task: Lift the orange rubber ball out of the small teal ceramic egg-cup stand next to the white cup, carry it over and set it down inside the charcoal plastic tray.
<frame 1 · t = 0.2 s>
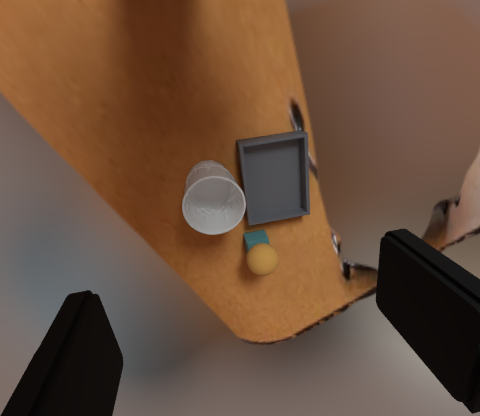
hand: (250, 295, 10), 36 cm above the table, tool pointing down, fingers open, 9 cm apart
ball: (262, 259, 47), point 6 cm above the table, touching stand
stand: (254, 240, 52), on the table
tray: (272, 176, 48), on the table
white cup: (208, 180, 46), on the table
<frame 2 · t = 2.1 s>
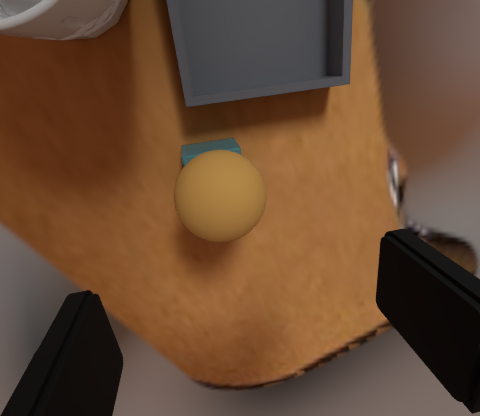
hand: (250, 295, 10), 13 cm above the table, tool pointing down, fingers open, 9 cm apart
ball: (220, 196, 17), point 6 cm above the table, touching stand
stand: (211, 166, 22), on the table
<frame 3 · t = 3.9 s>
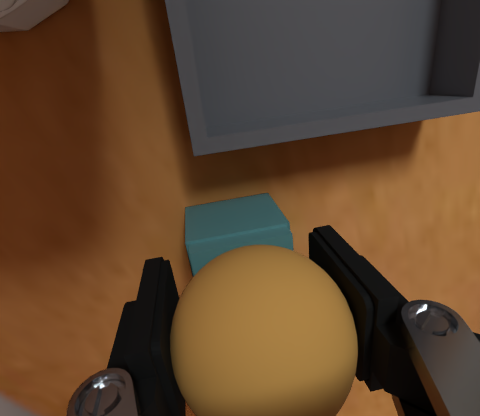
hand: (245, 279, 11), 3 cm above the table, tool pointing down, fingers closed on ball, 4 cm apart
ball: (261, 334, 8), point 6 cm above the table, touching gripper, stand
stand: (232, 236, 14), on the table
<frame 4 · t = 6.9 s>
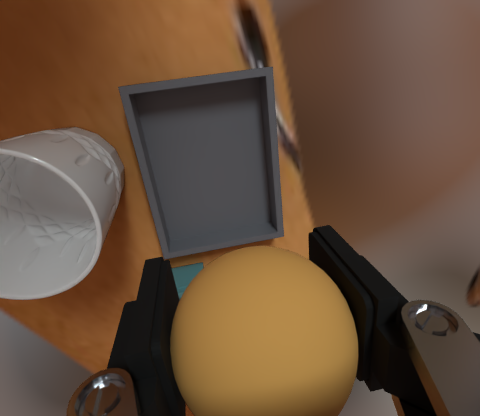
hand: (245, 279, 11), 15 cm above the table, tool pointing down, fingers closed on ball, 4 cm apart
ball: (262, 336, 8), point 18 cm above the table, touching gripper
stand: (187, 281, 29), on the table
tray: (210, 163, 24), on the table
white cup: (79, 170, 23), on the table
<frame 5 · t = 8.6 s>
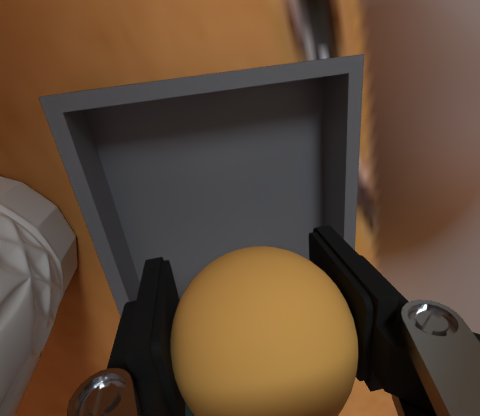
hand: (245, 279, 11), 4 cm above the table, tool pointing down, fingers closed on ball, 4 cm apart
ball: (262, 336, 8), point 7 cm above the table, touching gripper
tray: (227, 224, 14), on the table
when the fingers open (2 cm above the table, at t = 9.9 s): ball drops 2 cm, resting on tray.
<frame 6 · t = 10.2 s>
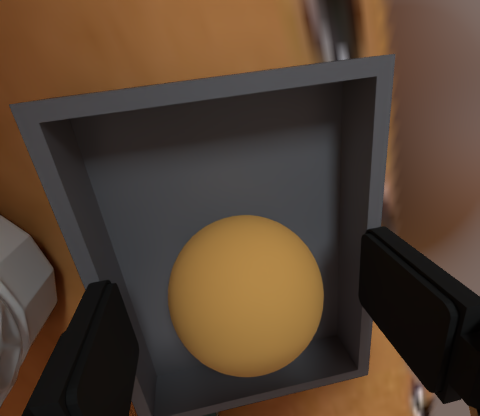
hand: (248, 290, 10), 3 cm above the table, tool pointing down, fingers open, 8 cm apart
ball: (245, 290, 10), point 3 cm above the table, touching tray
tray: (232, 243, 13), on the table
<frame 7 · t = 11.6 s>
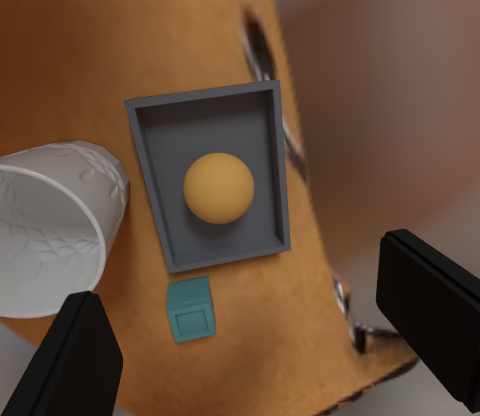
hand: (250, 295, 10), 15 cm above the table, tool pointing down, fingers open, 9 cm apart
ball: (219, 188, 21), point 3 cm above the table, touching tray
stand: (191, 295, 28), on the table
tray: (216, 176, 24), on the table
white cup: (84, 183, 23), on the table
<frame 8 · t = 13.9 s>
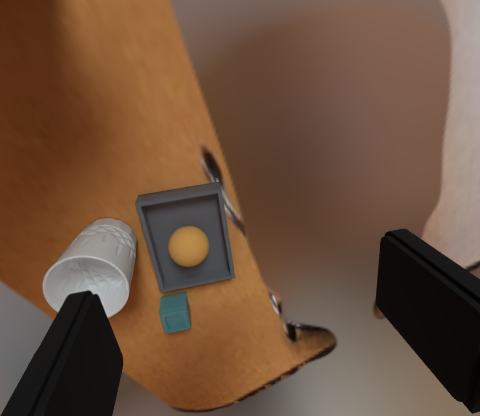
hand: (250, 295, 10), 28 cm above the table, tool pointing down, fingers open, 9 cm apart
ball: (188, 246, 37), point 3 cm above the table, touching tray
stand: (176, 304, 44), on the table
tray: (189, 234, 40), on the table
white cup: (110, 240, 39), on the table
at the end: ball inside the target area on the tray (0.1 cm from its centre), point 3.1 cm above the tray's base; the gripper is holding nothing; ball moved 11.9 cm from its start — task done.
